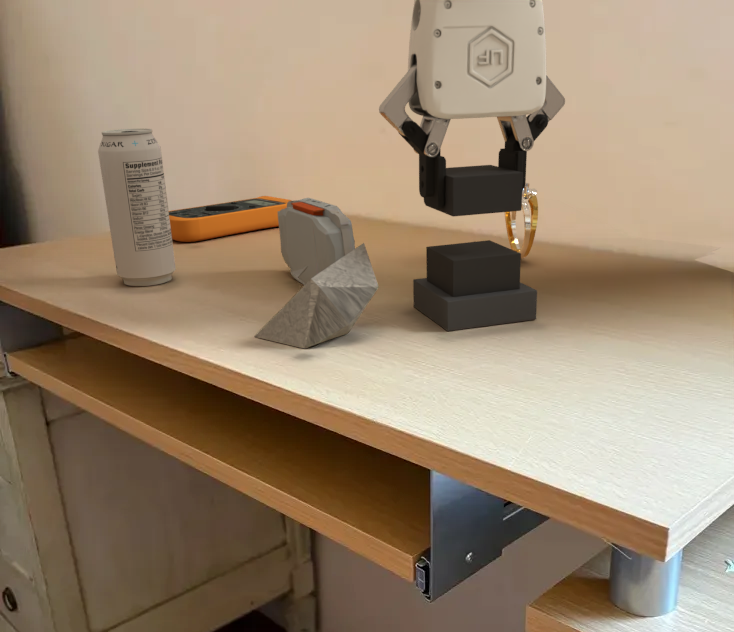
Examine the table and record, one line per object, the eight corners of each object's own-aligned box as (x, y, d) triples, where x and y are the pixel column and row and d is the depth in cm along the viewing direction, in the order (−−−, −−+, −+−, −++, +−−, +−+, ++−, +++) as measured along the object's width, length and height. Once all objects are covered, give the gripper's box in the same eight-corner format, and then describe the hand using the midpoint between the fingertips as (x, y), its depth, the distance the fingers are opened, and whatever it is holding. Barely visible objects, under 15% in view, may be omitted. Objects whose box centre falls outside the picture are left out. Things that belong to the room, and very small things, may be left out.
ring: (497, 252, 93) (498, 179, 90) (525, 251, 93) (527, 178, 90) (512, 266, 87) (514, 188, 84) (542, 264, 87) (545, 187, 84)
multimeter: (152, 237, 109) (148, 210, 108) (266, 218, 120) (264, 193, 119) (183, 245, 103) (180, 218, 102) (300, 224, 114) (299, 199, 112)
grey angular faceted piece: (271, 348, 61) (217, 292, 67) (306, 396, 66) (253, 340, 72) (393, 246, 62) (330, 200, 68) (420, 301, 67) (358, 254, 73)
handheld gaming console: (361, 296, 78) (357, 210, 75) (333, 301, 77) (328, 214, 74) (301, 267, 90) (296, 192, 87) (276, 271, 89) (270, 195, 86)
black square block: (489, 273, 74) (489, 240, 73) (519, 289, 69) (521, 253, 68) (426, 280, 73) (426, 246, 71) (453, 297, 67) (453, 260, 66)
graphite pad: (489, 200, 72) (490, 164, 71) (521, 210, 66) (523, 172, 65) (425, 205, 70) (424, 169, 69) (452, 216, 65) (452, 177, 64)
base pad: (494, 296, 76) (495, 269, 75) (536, 319, 69) (537, 290, 68) (413, 306, 74) (412, 279, 73) (447, 331, 67) (447, 301, 66)
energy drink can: (156, 270, 91) (136, 127, 85) (188, 278, 87) (170, 129, 81) (107, 282, 87) (83, 132, 81) (138, 290, 83) (116, 134, 77)
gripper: (381, -52, 56) (387, 218, 62) (607, -51, 60) (589, 201, 67) (350, -39, 62) (358, 204, 69) (556, -39, 67) (544, 189, 74)
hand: (472, 200), depth 68 cm, fingers closed on graphite pad, 6 cm apart
